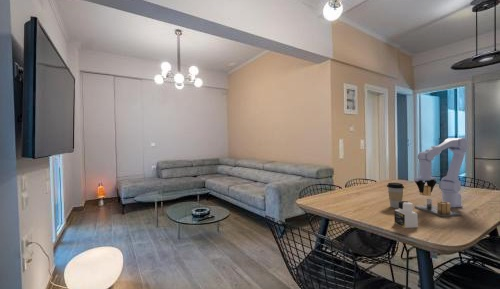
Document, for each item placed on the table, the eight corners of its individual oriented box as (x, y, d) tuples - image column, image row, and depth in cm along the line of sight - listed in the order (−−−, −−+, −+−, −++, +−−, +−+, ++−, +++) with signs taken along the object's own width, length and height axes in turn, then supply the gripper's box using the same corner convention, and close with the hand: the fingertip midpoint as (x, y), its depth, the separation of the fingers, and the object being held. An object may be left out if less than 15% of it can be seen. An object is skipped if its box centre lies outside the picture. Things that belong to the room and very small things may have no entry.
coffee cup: (407, 209, 142) (406, 185, 142) (390, 208, 144) (390, 185, 144) (400, 205, 152) (400, 182, 151) (384, 204, 153) (384, 182, 153)
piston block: (430, 206, 147) (430, 196, 147) (460, 215, 130) (460, 204, 130) (414, 207, 146) (414, 197, 145) (442, 217, 128) (442, 205, 128)
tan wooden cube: (425, 193, 148) (425, 185, 148) (433, 195, 143) (433, 186, 143) (417, 194, 147) (417, 185, 147) (425, 195, 142) (425, 187, 142)
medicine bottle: (394, 223, 120) (394, 200, 120) (406, 222, 121) (406, 199, 121) (404, 228, 113) (404, 204, 113) (417, 227, 114) (417, 203, 114)
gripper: (429, 169, 149) (429, 190, 150) (410, 170, 147) (410, 191, 148) (440, 170, 142) (440, 192, 143) (419, 171, 140) (419, 193, 141)
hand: (425, 192), depth 145 cm, fingers closed on tan wooden cube, 6 cm apart
